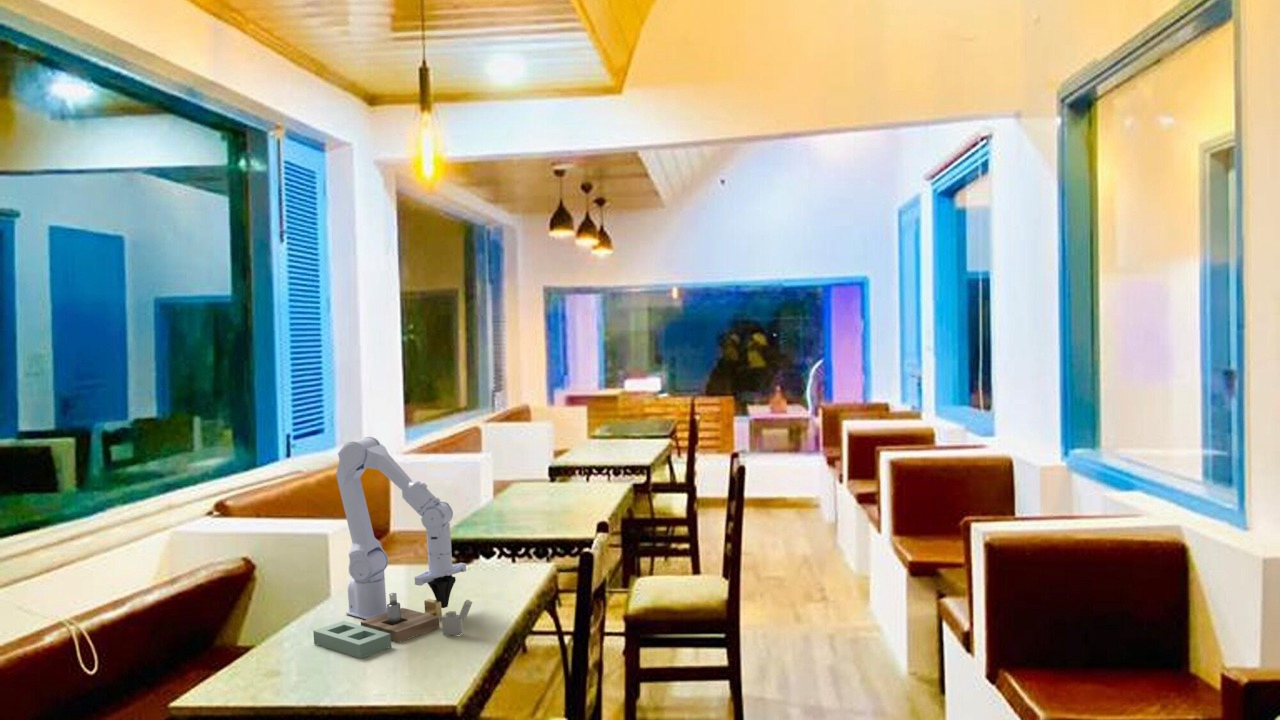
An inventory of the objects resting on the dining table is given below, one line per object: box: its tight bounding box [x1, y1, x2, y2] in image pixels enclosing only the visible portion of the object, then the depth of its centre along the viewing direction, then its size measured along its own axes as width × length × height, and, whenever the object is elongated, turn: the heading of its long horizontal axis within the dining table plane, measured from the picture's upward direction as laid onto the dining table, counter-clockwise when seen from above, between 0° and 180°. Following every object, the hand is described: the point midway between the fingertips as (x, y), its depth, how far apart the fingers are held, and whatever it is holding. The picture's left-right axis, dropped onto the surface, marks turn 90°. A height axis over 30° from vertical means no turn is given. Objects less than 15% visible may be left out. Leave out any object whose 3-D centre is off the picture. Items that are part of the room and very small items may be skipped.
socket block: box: [360, 607, 441, 643], centre depth 217 cm, size 14×12×2 cm
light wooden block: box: [423, 598, 443, 620], centre depth 223 cm, size 4×6×4 cm
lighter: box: [441, 599, 473, 636], centre depth 212 cm, size 7×2×8 cm, turn 78°
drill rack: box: [312, 620, 392, 659], centre depth 208 cm, size 18×8×3 cm, turn 51°
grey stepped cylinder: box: [386, 592, 401, 626], centre depth 216 cm, size 3×3×9 cm
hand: (443, 606), depth 227 cm, fingers closed
